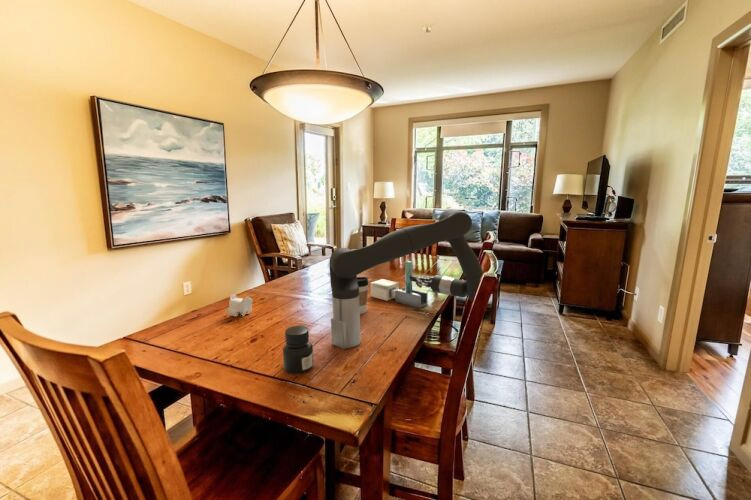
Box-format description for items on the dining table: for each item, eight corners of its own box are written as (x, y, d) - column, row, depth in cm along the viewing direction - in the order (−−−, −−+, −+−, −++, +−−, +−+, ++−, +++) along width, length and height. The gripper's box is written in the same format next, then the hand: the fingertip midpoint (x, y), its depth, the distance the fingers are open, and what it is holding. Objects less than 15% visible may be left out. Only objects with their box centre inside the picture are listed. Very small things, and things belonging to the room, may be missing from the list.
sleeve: (419, 308, 151) (419, 296, 150) (395, 301, 160) (395, 290, 159) (427, 304, 155) (427, 292, 154) (403, 298, 164) (403, 287, 163)
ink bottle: (312, 375, 99) (309, 336, 96) (281, 376, 98) (278, 338, 96) (315, 358, 108) (313, 323, 106) (287, 360, 108) (284, 324, 105)
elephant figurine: (220, 318, 144) (218, 298, 142) (243, 309, 154) (241, 290, 153) (236, 322, 139) (234, 301, 138) (258, 312, 150) (257, 293, 148)
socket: (386, 300, 162) (386, 286, 160) (370, 296, 169) (370, 282, 167) (398, 296, 168) (398, 282, 167) (382, 292, 175) (382, 278, 174)
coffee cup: (366, 315, 143) (365, 281, 141) (347, 314, 145) (346, 280, 142) (371, 308, 152) (370, 276, 149) (352, 307, 153) (351, 275, 150)
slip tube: (415, 303, 154) (415, 263, 150) (388, 296, 164) (387, 259, 161) (420, 301, 156) (420, 262, 153) (393, 294, 167) (392, 257, 164)
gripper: (452, 273, 148) (420, 267, 159) (436, 279, 138) (402, 273, 150) (452, 290, 149) (419, 283, 161) (436, 297, 140) (402, 289, 151)
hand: (411, 278), depth 155 cm, fingers closed
